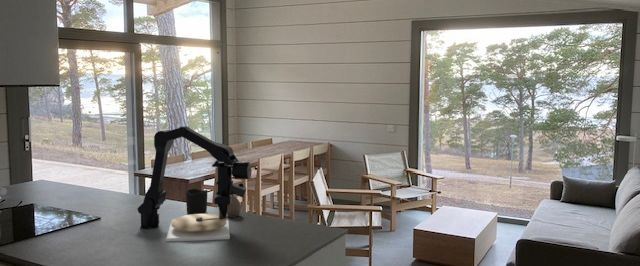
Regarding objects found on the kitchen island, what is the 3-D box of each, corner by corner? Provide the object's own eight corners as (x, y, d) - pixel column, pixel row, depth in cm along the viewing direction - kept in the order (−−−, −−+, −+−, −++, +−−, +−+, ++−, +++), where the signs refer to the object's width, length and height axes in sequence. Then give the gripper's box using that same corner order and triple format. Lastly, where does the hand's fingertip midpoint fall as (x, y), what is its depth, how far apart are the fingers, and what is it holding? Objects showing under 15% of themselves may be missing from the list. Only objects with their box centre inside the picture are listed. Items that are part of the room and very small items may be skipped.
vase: (238, 218, 226) (238, 198, 225) (223, 217, 227) (223, 197, 226) (243, 214, 232) (243, 195, 231) (229, 213, 234) (229, 194, 233)
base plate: (166, 241, 192) (166, 238, 192) (171, 224, 214) (171, 221, 214) (229, 239, 196) (229, 235, 196) (228, 222, 219) (228, 219, 219)
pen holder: (203, 209, 241) (203, 187, 240) (210, 213, 233) (210, 191, 232) (183, 211, 236) (183, 189, 235) (190, 216, 228) (189, 193, 227)
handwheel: (177, 238, 191) (177, 217, 190) (166, 223, 210) (166, 204, 209) (234, 231, 201) (234, 211, 200) (219, 218, 219) (219, 199, 219)
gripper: (244, 182, 196) (243, 223, 197) (246, 174, 214) (246, 211, 216) (213, 182, 195) (214, 223, 196) (218, 174, 213) (218, 212, 215)
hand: (224, 217), depth 206 cm, fingers closed
